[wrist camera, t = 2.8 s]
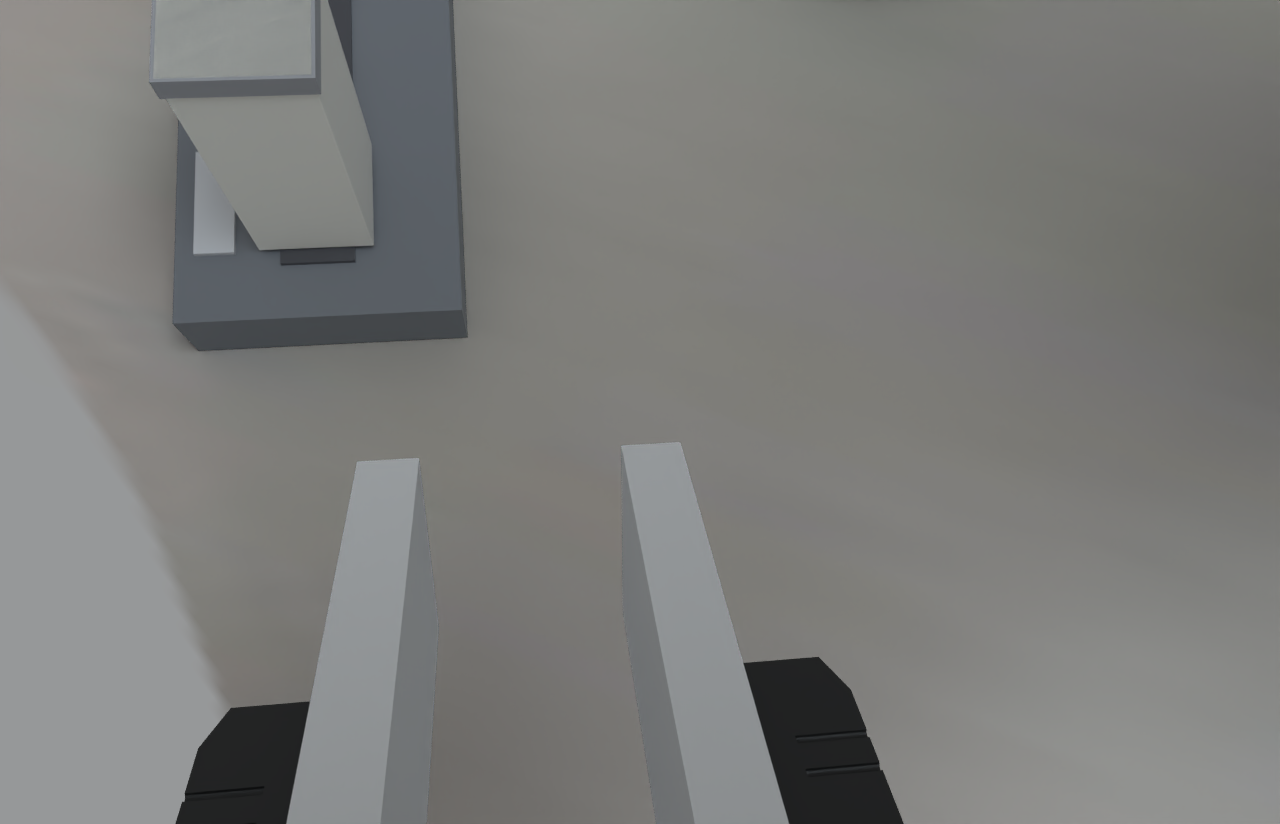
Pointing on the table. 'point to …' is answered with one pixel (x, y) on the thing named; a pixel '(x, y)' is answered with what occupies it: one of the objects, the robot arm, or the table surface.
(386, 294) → the switch panel
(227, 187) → the switch tab
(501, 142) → the table surface
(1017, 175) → the table surface
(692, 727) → the robot arm
